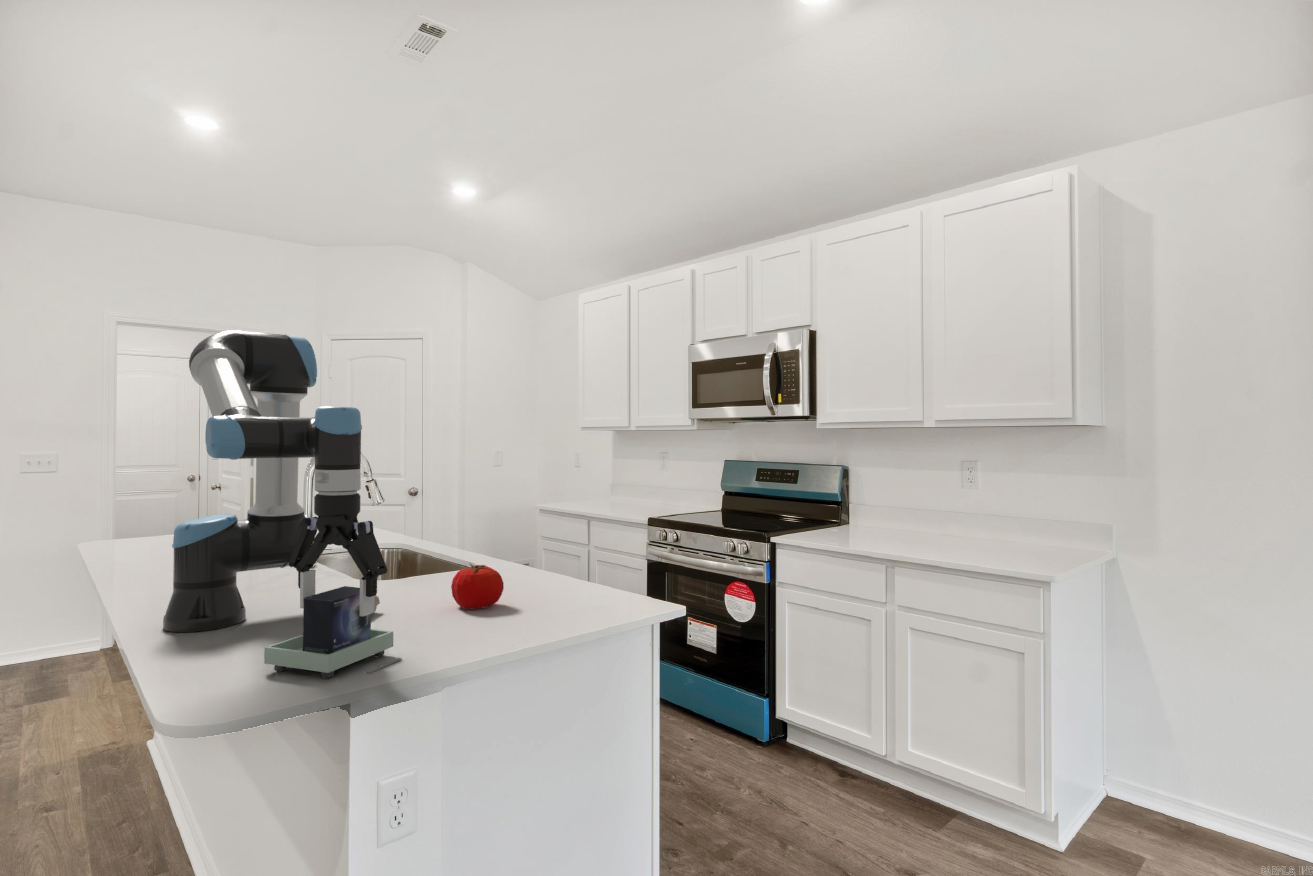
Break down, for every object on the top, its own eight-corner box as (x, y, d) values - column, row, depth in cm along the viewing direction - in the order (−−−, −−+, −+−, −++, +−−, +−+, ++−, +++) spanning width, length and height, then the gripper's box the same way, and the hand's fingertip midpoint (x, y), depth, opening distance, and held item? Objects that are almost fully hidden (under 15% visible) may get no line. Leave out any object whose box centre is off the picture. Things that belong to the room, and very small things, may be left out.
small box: (332, 661, 116) (332, 600, 116) (300, 658, 118) (300, 597, 118) (373, 643, 126) (373, 587, 127) (343, 641, 128) (343, 585, 128)
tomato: (461, 601, 170) (461, 560, 170) (510, 602, 169) (509, 561, 169) (440, 612, 159) (440, 568, 159) (492, 614, 158) (492, 569, 158)
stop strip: (366, 673, 117) (366, 671, 117) (398, 659, 125) (398, 658, 125) (370, 673, 117) (370, 672, 117) (402, 659, 125) (402, 658, 125)
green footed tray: (264, 672, 118) (264, 647, 118) (334, 647, 132) (334, 624, 132) (328, 682, 113) (328, 656, 113) (393, 655, 127) (393, 631, 127)
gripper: (267, 491, 123) (266, 608, 123) (378, 498, 115) (377, 623, 115) (301, 487, 130) (300, 598, 130) (408, 494, 122) (407, 612, 122)
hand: (336, 610), depth 123 cm, fingers open, 13 cm apart
